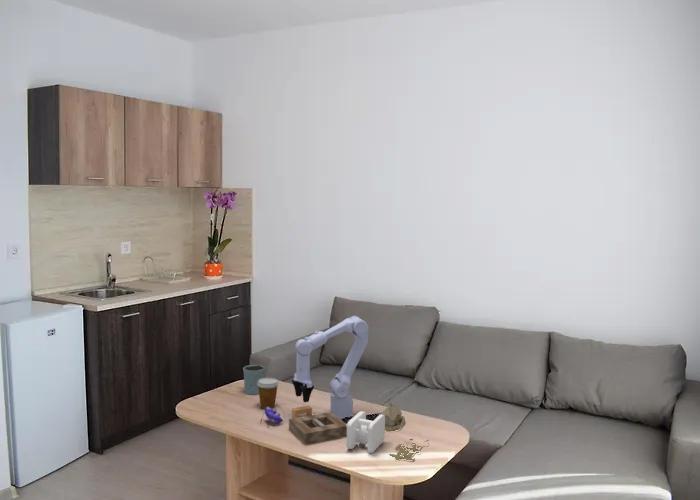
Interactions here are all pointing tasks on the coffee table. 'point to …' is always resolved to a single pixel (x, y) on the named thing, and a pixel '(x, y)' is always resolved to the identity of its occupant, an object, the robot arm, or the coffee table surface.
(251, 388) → the teal cup
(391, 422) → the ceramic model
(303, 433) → the brown piece
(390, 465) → the coffee table surface
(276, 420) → the game controller
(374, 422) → the cable organizer
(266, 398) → the disposable coffee cup
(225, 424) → the coffee table surface
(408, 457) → the lettering
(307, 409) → the tan rectangular block
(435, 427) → the coffee table surface
